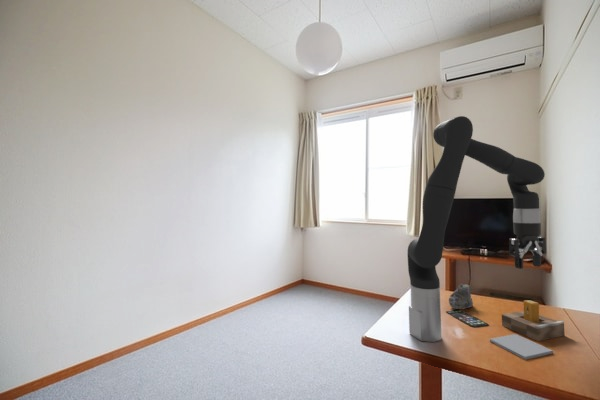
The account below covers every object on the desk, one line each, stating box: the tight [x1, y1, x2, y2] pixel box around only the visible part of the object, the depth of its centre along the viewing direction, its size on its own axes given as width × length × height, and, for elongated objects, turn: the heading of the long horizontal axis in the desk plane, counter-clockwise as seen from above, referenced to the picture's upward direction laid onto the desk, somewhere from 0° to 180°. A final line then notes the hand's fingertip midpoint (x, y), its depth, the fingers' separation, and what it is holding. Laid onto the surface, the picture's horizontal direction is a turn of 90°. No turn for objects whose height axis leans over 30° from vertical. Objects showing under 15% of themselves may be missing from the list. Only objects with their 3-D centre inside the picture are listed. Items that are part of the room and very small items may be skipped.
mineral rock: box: [448, 283, 474, 310], centre depth 119 cm, size 13×11×10 cm
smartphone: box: [445, 309, 490, 328], centre depth 108 cm, size 7×1×15 cm
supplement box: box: [523, 299, 540, 323], centre depth 96 cm, size 3×3×10 cm
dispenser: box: [501, 310, 566, 342], centre depth 96 cm, size 12×12×5 cm
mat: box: [489, 333, 554, 360], centre depth 86 cm, size 11×11×1 cm
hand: (528, 267), depth 97 cm, fingers open, 8 cm apart
